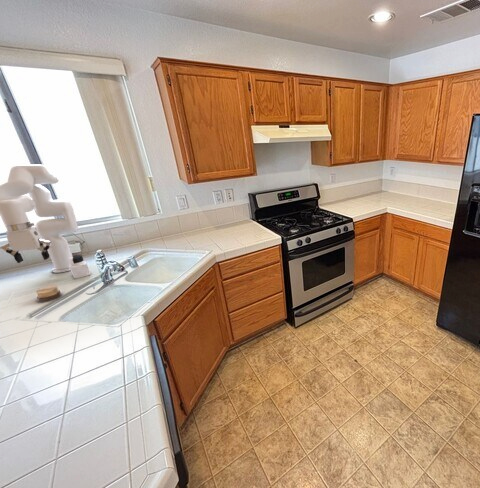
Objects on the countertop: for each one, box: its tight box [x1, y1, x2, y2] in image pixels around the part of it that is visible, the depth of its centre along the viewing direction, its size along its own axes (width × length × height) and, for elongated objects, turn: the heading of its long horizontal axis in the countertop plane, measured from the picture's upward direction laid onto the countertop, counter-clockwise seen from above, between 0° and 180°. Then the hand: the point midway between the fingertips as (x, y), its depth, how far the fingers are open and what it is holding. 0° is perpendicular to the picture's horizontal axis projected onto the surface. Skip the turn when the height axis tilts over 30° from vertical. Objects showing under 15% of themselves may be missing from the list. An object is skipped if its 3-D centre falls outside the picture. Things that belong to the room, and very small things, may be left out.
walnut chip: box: [36, 289, 62, 303], centre depth 132 cm, size 8×8×2 cm
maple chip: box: [35, 285, 59, 298], centre depth 131 cm, size 7×7×3 cm
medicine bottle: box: [68, 254, 91, 280], centre depth 153 cm, size 7×7×12 cm
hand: (33, 260), depth 127 cm, fingers open, 9 cm apart
